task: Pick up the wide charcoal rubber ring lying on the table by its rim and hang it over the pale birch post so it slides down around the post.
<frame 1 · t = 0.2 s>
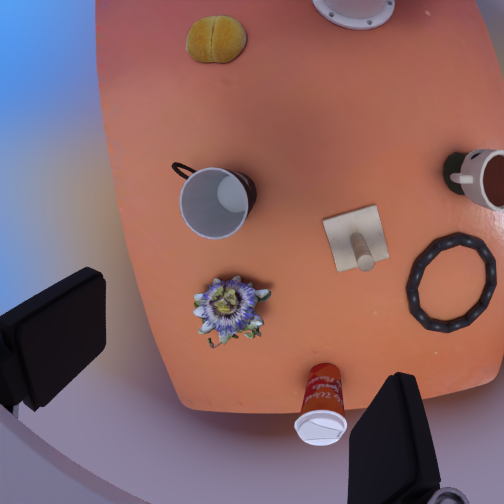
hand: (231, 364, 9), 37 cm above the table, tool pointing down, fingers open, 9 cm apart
paper cup: (324, 374, 52), on the table
passion flower: (237, 301, 51), on the table
ring: (454, 286, 41), point 1 cm above the table
post: (356, 237, 43), on the table
white handled cup: (459, 172, 37), on the table
bread roll: (218, 42, 39), on the table
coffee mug: (231, 184, 45), on the table
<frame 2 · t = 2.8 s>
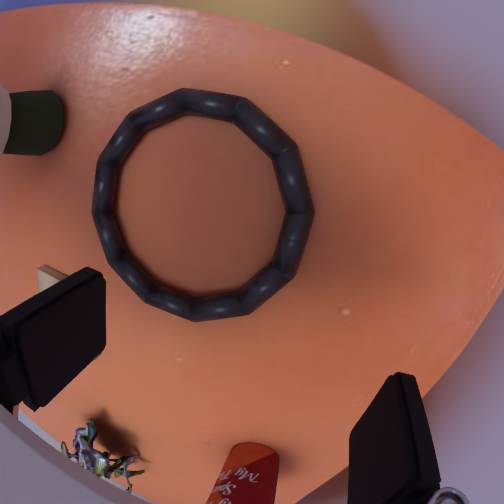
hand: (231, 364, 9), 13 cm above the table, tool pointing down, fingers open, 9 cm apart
paper cup: (255, 455, 29), on the table
passion flower: (117, 439, 35), on the table
ring: (187, 210, 21), point 1 cm above the table
post: (71, 310, 28), on the table
white handled cup: (48, 122, 23), on the table
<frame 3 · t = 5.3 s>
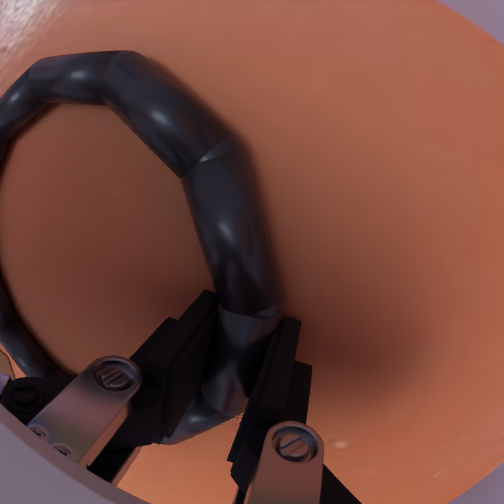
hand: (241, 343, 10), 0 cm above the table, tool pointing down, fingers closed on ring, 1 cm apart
ring: (59, 277, 10), point 1 cm above the table, touching gripper
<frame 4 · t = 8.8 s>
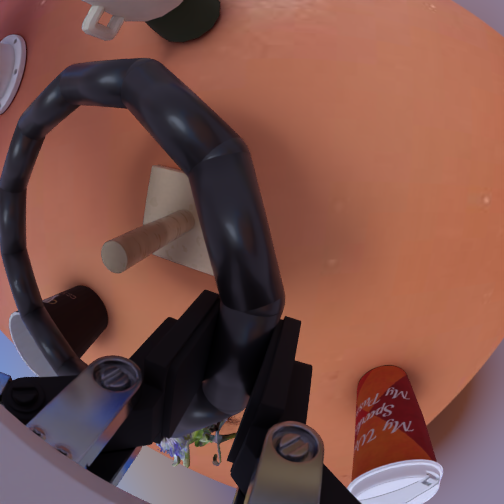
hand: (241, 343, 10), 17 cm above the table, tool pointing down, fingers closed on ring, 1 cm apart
paper cup: (382, 384, 28), on the table
passion flower: (202, 398, 34), on the table
ring: (82, 266, 12), point 16 cm above the table, tilted 9°, touching gripper
post: (189, 218, 27), on the table
white handled cup: (190, 17, 22), on the table
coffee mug: (80, 305, 34), on the table
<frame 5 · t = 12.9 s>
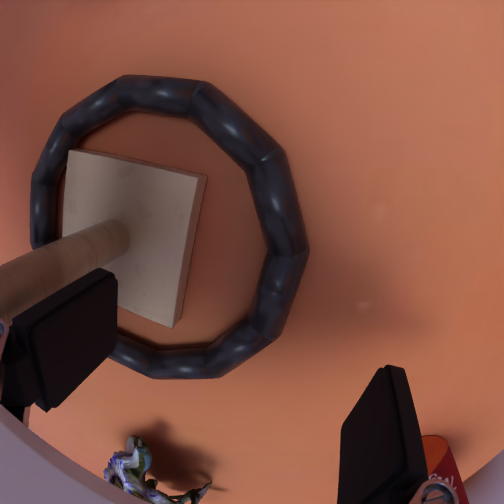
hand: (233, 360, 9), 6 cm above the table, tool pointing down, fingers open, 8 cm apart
paper cup: (414, 455, 17), on the table
passion flower: (175, 463, 23), on the table
ring: (135, 243, 15), point 1 cm above the table
post: (126, 232, 16), on the table
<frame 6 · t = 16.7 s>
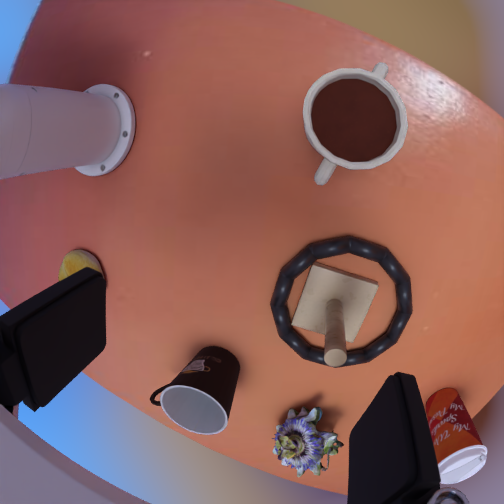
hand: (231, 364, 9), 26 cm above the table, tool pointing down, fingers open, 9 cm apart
paper cup: (441, 400, 36), on the table
passion flower: (312, 422, 42), on the table
ring: (343, 308, 35), point 1 cm above the table
post: (334, 301, 36), on the table
white handled cup: (343, 132, 30), on the table
bread roll: (86, 275, 43), on the table
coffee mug: (208, 360, 43), on the table
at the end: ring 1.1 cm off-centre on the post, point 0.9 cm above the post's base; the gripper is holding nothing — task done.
